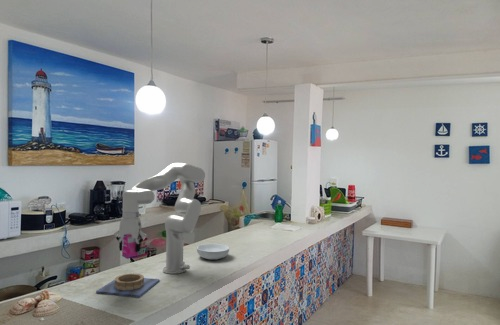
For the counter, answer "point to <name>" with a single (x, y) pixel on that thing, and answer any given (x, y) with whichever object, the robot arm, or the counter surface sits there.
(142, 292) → the collar
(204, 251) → the serving bowl
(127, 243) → the supplement box
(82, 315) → the counter surface
